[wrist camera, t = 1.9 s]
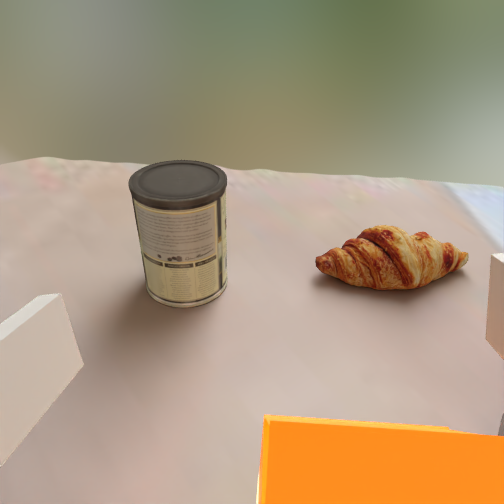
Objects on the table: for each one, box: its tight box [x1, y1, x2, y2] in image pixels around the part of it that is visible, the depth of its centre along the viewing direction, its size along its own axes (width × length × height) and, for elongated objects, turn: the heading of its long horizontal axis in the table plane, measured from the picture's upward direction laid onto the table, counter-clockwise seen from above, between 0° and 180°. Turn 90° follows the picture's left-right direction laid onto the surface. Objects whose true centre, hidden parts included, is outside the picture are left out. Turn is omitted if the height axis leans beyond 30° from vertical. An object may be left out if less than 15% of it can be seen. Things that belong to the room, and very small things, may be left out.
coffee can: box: [129, 160, 228, 308], centre depth 46 cm, size 10×10×14 cm
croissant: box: [316, 225, 468, 290], centre depth 51 cm, size 21×10×8 cm
